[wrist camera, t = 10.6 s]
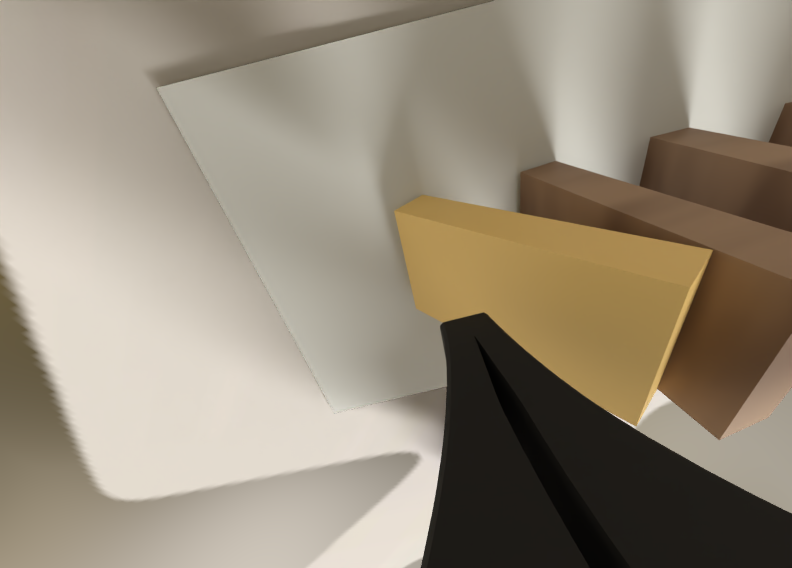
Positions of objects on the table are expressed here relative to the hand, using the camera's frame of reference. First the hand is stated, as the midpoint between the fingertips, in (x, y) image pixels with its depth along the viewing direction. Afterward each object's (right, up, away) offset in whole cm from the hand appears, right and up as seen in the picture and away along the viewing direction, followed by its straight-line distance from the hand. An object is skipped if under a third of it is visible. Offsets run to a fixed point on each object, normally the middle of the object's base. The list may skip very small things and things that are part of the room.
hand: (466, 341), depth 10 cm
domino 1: (-1, +3, +5) cm, 6 cm away
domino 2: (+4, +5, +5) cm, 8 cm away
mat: (+8, +5, +6) cm, 11 cm away
